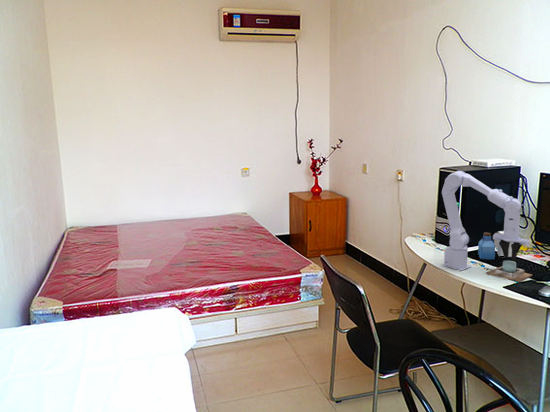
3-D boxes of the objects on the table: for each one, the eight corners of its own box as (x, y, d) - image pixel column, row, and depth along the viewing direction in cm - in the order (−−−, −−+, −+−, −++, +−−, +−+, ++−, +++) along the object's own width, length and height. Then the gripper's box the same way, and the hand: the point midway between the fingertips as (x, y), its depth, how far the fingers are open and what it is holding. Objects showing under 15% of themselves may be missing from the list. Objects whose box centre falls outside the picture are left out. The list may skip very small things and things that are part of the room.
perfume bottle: (480, 258, 211) (481, 234, 208) (477, 255, 217) (478, 231, 214) (494, 259, 209) (495, 235, 207) (491, 255, 215) (492, 231, 213)
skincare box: (509, 254, 215) (510, 230, 213) (513, 257, 211) (514, 233, 209) (496, 254, 216) (497, 231, 213) (500, 257, 212) (501, 233, 209)
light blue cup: (500, 273, 189) (500, 262, 188) (506, 270, 192) (506, 259, 191) (511, 276, 185) (512, 265, 184) (517, 273, 188) (518, 262, 187)
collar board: (486, 273, 191) (486, 268, 191) (499, 267, 197) (499, 263, 197) (519, 282, 180) (519, 277, 179) (532, 275, 186) (532, 270, 186)
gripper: (489, 226, 188) (488, 256, 191) (524, 232, 176) (522, 264, 179) (498, 223, 192) (496, 253, 195) (533, 229, 180) (531, 260, 183)
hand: (509, 258), depth 187 cm, fingers open, 3 cm apart
